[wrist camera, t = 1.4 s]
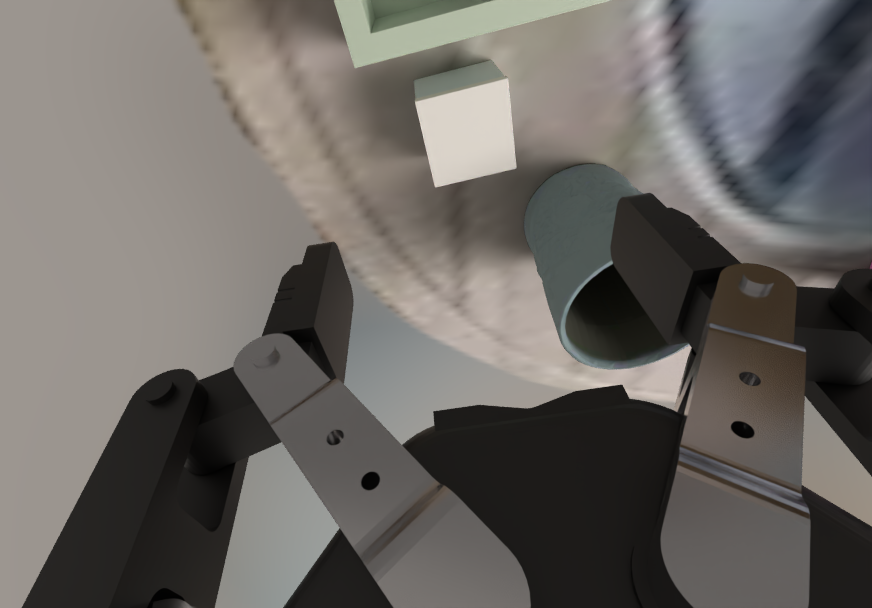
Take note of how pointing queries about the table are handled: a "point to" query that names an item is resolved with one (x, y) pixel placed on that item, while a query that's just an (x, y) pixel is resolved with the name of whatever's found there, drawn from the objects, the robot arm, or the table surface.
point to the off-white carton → (466, 122)
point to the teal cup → (589, 270)
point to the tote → (433, 22)
